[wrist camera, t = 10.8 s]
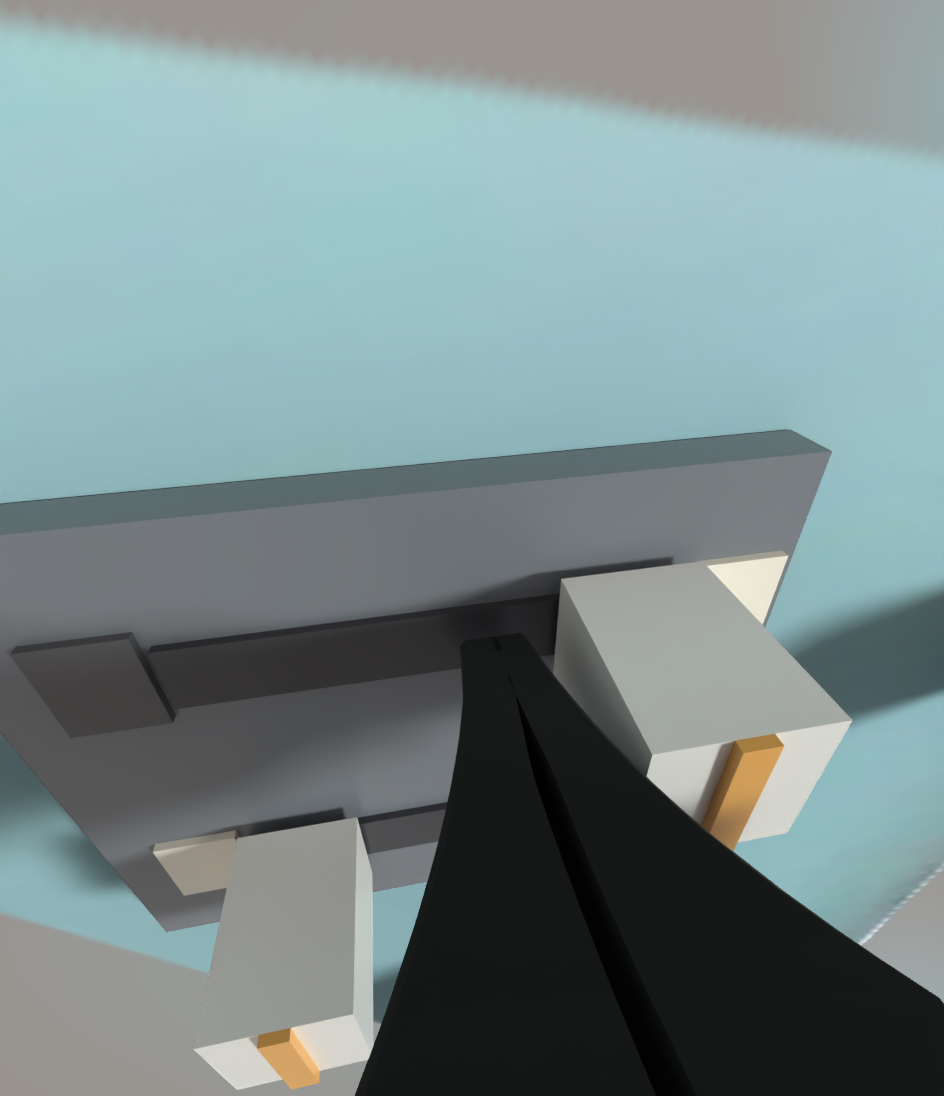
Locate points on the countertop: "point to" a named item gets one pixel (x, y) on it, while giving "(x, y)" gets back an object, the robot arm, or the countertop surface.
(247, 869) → the toggle
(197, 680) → the switch unit
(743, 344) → the countertop surface
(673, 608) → the toggle
